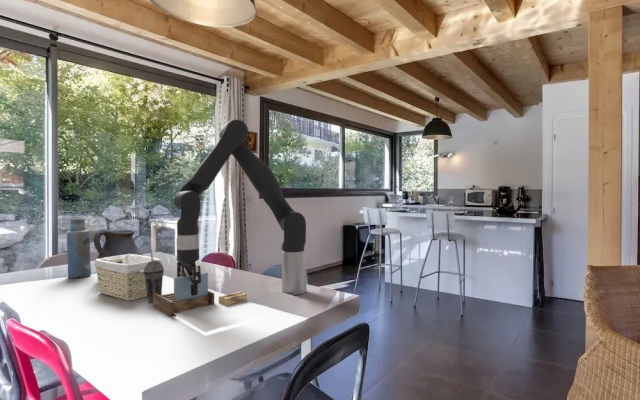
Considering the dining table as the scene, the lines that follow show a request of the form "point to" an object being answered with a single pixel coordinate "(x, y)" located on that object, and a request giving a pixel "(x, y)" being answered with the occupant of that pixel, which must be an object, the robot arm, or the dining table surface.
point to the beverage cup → (153, 278)
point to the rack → (180, 303)
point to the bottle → (78, 249)
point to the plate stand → (232, 298)
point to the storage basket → (123, 276)
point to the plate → (189, 288)
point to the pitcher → (116, 243)
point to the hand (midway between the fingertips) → (188, 292)
